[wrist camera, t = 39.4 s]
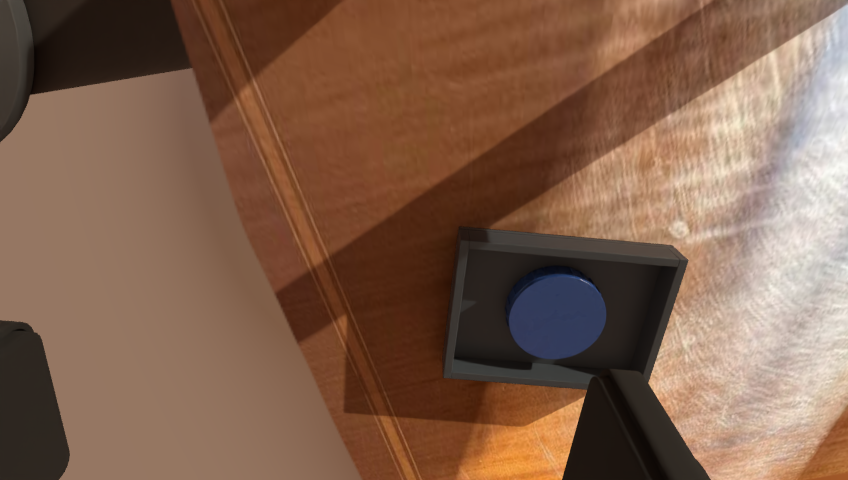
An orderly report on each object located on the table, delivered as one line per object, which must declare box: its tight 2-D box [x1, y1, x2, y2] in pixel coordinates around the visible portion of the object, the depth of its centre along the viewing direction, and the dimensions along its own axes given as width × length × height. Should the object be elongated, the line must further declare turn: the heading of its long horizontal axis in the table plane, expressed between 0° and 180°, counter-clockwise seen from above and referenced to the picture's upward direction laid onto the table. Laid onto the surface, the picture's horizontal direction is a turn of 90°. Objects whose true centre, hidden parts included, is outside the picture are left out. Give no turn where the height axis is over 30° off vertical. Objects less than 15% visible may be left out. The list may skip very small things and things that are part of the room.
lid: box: [505, 265, 606, 359], centre depth 36 cm, size 7×7×2 cm
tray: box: [442, 227, 688, 390], centre depth 36 cm, size 15×11×2 cm
